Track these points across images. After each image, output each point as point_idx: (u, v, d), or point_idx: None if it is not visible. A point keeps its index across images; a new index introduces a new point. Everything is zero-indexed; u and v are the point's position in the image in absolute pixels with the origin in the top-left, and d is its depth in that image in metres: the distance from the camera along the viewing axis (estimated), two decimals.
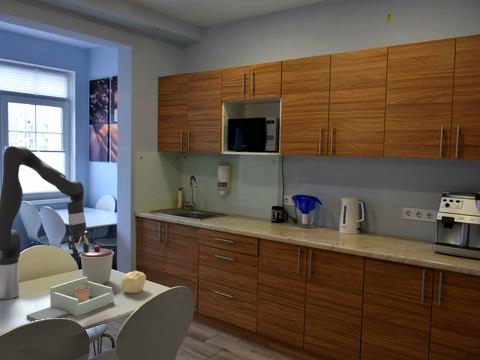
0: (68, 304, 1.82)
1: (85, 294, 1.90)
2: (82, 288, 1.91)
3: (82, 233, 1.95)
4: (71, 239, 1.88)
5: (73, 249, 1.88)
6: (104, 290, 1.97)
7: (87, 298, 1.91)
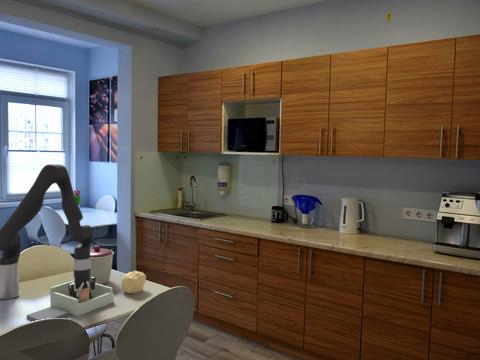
0: (68, 304, 1.82)
1: (85, 294, 1.90)
2: None
3: (86, 279, 1.92)
4: (70, 287, 1.85)
5: (73, 296, 1.87)
6: (104, 290, 1.97)
7: (87, 298, 1.91)
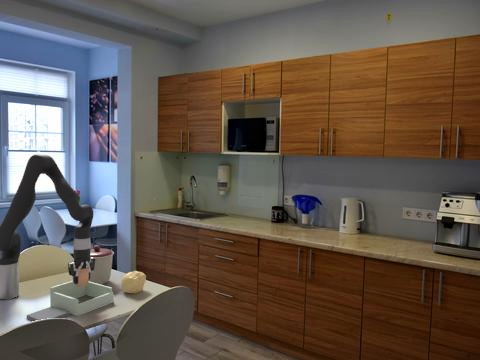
0: (68, 304, 1.82)
1: (84, 274, 1.89)
2: (82, 268, 1.90)
3: (85, 259, 1.91)
4: (70, 266, 1.85)
5: (72, 275, 1.86)
6: (104, 290, 1.97)
7: (86, 278, 1.90)
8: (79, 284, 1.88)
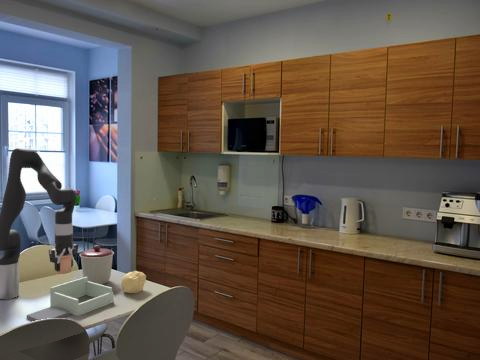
0: (68, 304, 1.82)
1: (66, 261, 1.80)
2: (64, 255, 1.81)
3: (68, 245, 1.83)
4: (51, 252, 1.76)
5: (54, 262, 1.77)
6: (104, 290, 1.97)
7: (69, 265, 1.82)
8: (61, 271, 1.80)
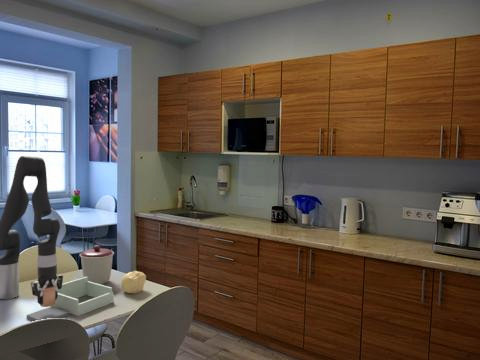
0: (68, 304, 1.82)
1: (50, 294, 1.74)
2: (47, 287, 1.75)
3: (51, 277, 1.76)
4: (33, 285, 1.70)
5: (36, 295, 1.71)
6: (104, 290, 1.97)
7: (53, 298, 1.75)
8: (44, 305, 1.73)
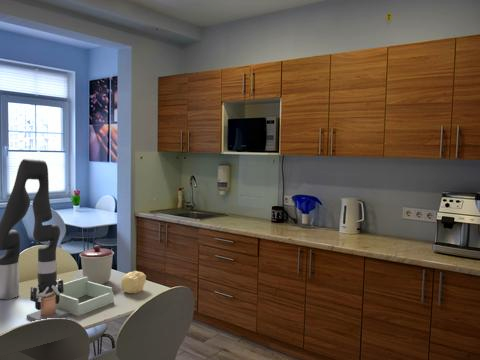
0: (68, 304, 1.82)
1: (50, 303, 1.74)
2: (47, 296, 1.75)
3: (51, 283, 1.76)
4: (33, 290, 1.70)
5: (34, 301, 1.70)
6: (104, 290, 1.97)
7: (53, 307, 1.76)
8: (44, 314, 1.74)
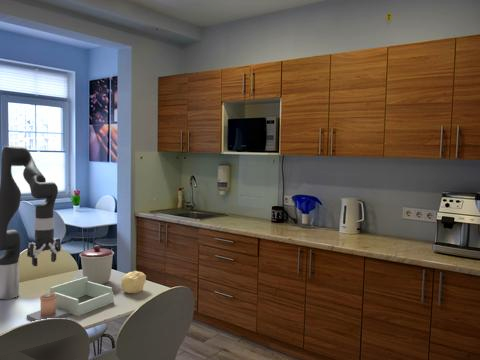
0: (68, 304, 1.82)
1: (50, 303, 1.74)
2: (47, 296, 1.75)
3: (48, 240, 1.77)
4: (30, 246, 1.70)
5: (31, 257, 1.71)
6: (104, 290, 1.97)
7: (53, 307, 1.76)
8: (44, 314, 1.74)
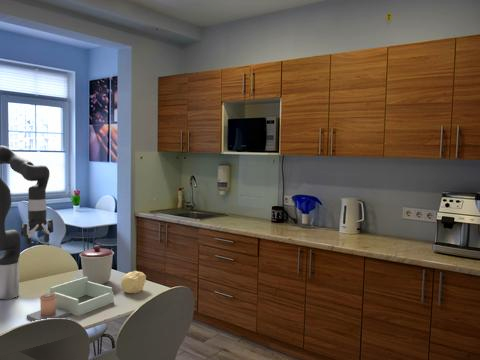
0: (68, 304, 1.82)
1: (50, 303, 1.74)
2: (47, 296, 1.75)
3: (41, 221, 1.85)
4: (23, 226, 1.78)
5: None
6: (104, 290, 1.97)
7: (53, 307, 1.76)
8: (44, 314, 1.74)
